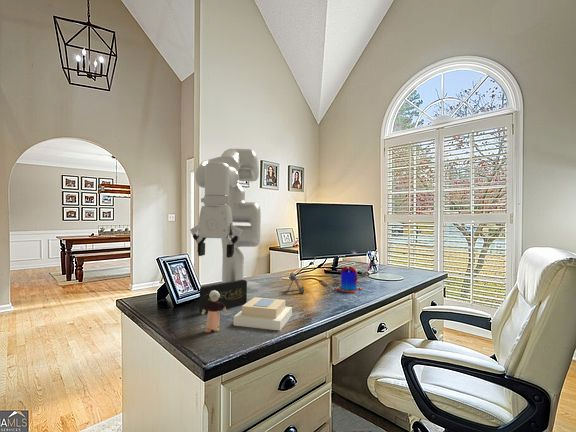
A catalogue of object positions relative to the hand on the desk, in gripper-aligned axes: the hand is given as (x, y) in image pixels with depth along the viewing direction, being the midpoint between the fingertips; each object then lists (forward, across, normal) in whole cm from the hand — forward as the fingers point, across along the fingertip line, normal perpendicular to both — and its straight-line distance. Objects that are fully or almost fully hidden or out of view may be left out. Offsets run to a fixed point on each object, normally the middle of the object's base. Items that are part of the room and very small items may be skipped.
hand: (215, 256), depth 99 cm
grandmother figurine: (+24, 0, +1) cm, 24 cm away
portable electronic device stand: (+23, +13, +58) cm, 64 cm away
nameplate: (+24, -7, +23) cm, 33 cm away
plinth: (+23, +12, +15) cm, 30 cm away
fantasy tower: (+23, +38, +70) cm, 83 cm away
